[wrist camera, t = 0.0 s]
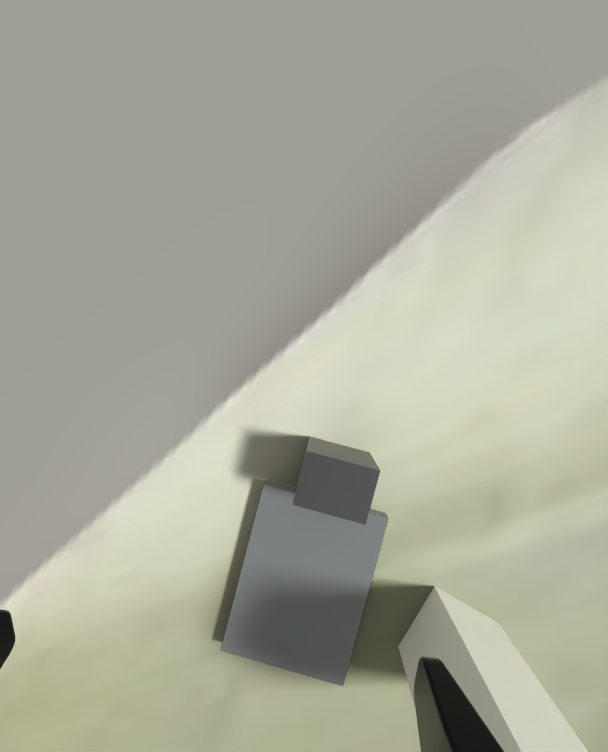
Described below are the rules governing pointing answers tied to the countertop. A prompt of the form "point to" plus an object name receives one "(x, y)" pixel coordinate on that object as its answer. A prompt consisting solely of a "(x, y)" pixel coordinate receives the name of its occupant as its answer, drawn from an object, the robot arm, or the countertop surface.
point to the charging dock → (309, 565)
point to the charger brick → (487, 675)
